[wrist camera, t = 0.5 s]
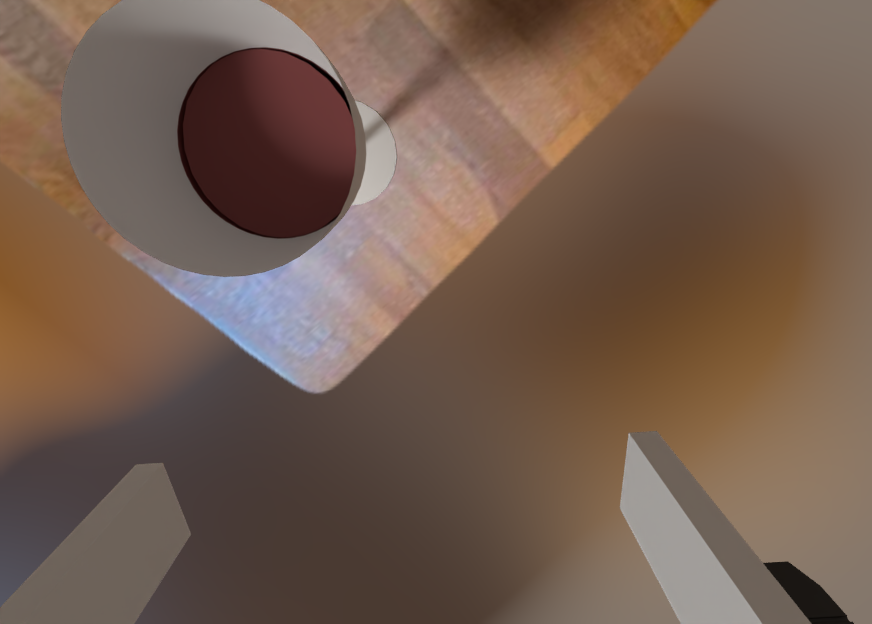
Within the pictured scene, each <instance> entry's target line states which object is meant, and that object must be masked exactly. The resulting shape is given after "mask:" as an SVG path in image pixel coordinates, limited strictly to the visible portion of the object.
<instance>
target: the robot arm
mask: <svg viewBox="0 0 872 624" xmlns="http://www.w3.org/2000/svg"><path fill="white" fill-rule="evenodd" d="M620 509H621V511H622V513H623V515H624V517H625V519H626V521H627V522H628V524H629V526H630V528H631V530H632V532H633V534H634V536H635V537H636V540H637V541H638V543H639V545H640V547H641V549H642V551H643V553H644V554H645V557H646V559H647V560H648V562H649V564H650V566H651V568H652V570H653V572H654V574H655V576H656V578H657V579H658V581H659V583H660V585H661V587H662V589H663V591H664V593H665V595H666V597H667V598H668V600H669V602H670V604H671V606H672V608H673V610H674V612H675V614H676V616H677V617H678V619H679V621H680V623H681V624H854V623H853V622H850V621H849V620H848V619H847V615H846V614H845V613H844V612H843V611H842V610H841V609H840V607H839V606H838V605H837V604H836V603H835V602H834V601H833V600H832V598H831V597H830V596H829V595H828V594H827V593H826V592H825V591H824V590H823V588H822V587H821V586H820V585H818V584H817V583H816V582H814V581H813V580H812V579H810V578H809V577H808V576H806V575H805V574H804V573H802V572H801V571H800V570H798V569H797V568H796V567H794V566H793V565H792V564H790V563H789V562H772V563H762V561H761V560H760V559H759V558H758V556H757V555H756V554H755V553H754V551H753V550H752V549H751V548H750V547H749V545H748V544H747V543H746V541H745V540H744V539H743V538H742V537H741V535H740V534H739V533H738V532H737V530H736V529H735V528H734V527H733V525H732V524H731V523H730V522H729V521H728V519H727V518H726V517H725V515H724V514H723V513H722V512H721V510H720V509H719V508H718V507H717V505H716V504H715V503H714V502H713V501H712V499H711V498H710V497H709V495H708V494H707V493H706V492H705V491H704V490H703V488H702V487H701V486H700V484H699V483H698V482H697V481H696V479H695V478H694V477H693V476H692V474H691V473H690V472H689V471H688V469H687V468H686V467H685V466H684V464H683V463H682V462H681V461H680V459H679V458H678V457H677V456H676V454H675V453H674V452H673V451H672V450H671V448H670V447H669V446H668V445H667V443H666V442H665V441H664V440H663V438H662V437H661V436H660V435H659V433H658V432H657V431H652V432H651V431H650V432H637V433H636V432H635V433H629V436H628V445H627V453H626V461H625V469H624V478H623V486H622V495H621V503H620ZM190 535H191V533H190V531H189V528H188V525H187V523H186V520H185V518H184V516H183V513H182V510H181V508H180V505H179V503H178V500H177V498H176V495H175V493H174V490H173V488H172V485H171V483H170V480H169V478H168V475H167V473H166V470H165V468H164V465H163V463H154V464H138V465H135V466H134V467H133V468H132V470H131V471H130V472H129V473H128V474H127V475H126V476H125V477H124V478H123V479H122V480H121V481H120V482H119V483H118V484H117V485H116V487H114V488H113V490H112V491H111V492H110V493H109V494H108V495H107V496H106V497H105V498H104V499H103V500H102V501H101V502H100V503H99V504H98V505H97V506H96V507H95V508H94V509H93V511H92V512H91V513H90V514H89V515H88V516H87V517H86V518H85V519H84V520H83V521H82V522H81V523H80V524H79V525H78V526H77V527H76V528H75V529H74V530H73V532H72V533H71V534H70V535H69V536H68V537H67V538H66V539H65V540H64V541H63V542H62V543H61V544H60V545H59V546H58V547H57V548H56V549H55V550H54V552H53V553H52V554H51V555H50V556H49V557H48V558H47V559H46V560H45V561H44V562H43V563H42V564H41V565H40V566H39V568H37V569H36V571H34V573H33V574H32V575H31V576H30V577H29V578H28V579H27V580H26V581H25V582H24V583H23V584H22V585H21V586H20V587H19V588H18V589H17V591H15V592H14V594H13V595H12V596H11V597H10V598H9V599H8V600H7V601H6V602H5V603H4V604H3V605H2V606H1V607H0V624H134V623H135V622H136V620H137V618H138V617H139V615H140V614H141V612H142V611H143V609H144V607H145V606H146V604H147V603H148V601H149V599H150V598H151V596H152V595H153V593H154V592H155V590H156V588H157V587H158V585H159V584H160V582H161V581H162V579H163V577H164V576H165V574H166V573H167V571H168V569H169V568H170V566H171V565H172V563H173V562H174V560H175V558H176V556H177V555H178V554H179V552H180V551H181V549H182V547H183V546H184V544H185V543H186V541H187V539H188V538H189V536H190Z"/></svg>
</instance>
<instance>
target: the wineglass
mask: <svg viewBox="0 0 872 624" xmlns="http://www.w3.org/2000/svg"><path fill="white" fill-rule="evenodd" d="M61 121H62V128H63V136H64V142H65V146H66V149H67V153H68V156H69V159H70V163H71V165H72V168H73V170H74V172H75V174H76V176H77V179H78V181H79V183H80V185H81V187H82V188H83V190H84V192H85V193H86V195H87V196H88V198H89V200H90V201H91V203H92V204H93V206H94V207H95V208H96V209H97V210H98V212H99V213H100V214H101V215H102V216H103V218H104V219H105V220H106V221H107V222H108V224H110V225H111V226H112V227H113V228H114V229H115V230H116V231H117V232H118V233H119V234H120V235H121V236H123V237H124V238H125V239H126V240H127V241H129V242H130V243H132V244H133V245H134V246H136V247H137V248H139V249H140V250H141V251H143V252H145V253H147V254H148V255H150V256H152V257H154V258H156V259H158V260H160V261H161V262H164V263H166V264H169V265H172V266H174V267H177V268H179V269H182V270H186V271H190V272H194V273H198V274H203V275H212V276H222V277H229V276H246V275H252V274H257V273H262V272H266V271H269V270H272V269H275V268H277V267H280V266H283V265H285V264H287V263H289V262H290V261H292V260H294V259H296V258H298V257H300V256H301V255H302V254H304V253H305V252H306V251H308V250H309V249H310V248H312V247H313V246H314V245H316V244H317V243H318V242H319V241H320V240H322V239H323V238H324V237H325V236H326V235H327V234H328V233H329V232H330V231H331V230H332V229H333V228H334V227H335V225H336V224H337V223H338V222H339V221H340V220H341V219H342V218H343V217H344V215H345V214H346V212H347V211H348V209H349V208H350V206H351V205H360V204H364V203H366V202H368V201H371V200H373V199H375V198H377V197H378V196H379V195H380V194H381V193H382V192H383V191H384V190H385V189H386V188H387V186H388V184H389V182H390V181H391V179H392V177H393V175H394V171H395V165H396V160H397V155H396V147H395V140H394V138H393V136H392V133H391V131H390V129H389V126H388V125H387V123H386V122H385V121H384V120H383V119H382V117H381V116H380V115H379V114H378V113H377V112H376V111H375V110H373V109H372V108H370V107H368V106H367V105H365V104H364V103H362V102H358V101H355V100H354V98H353V96H352V94H351V93H350V91H349V89H348V87H347V85H346V84H345V82H344V80H343V79H342V77H341V75H340V74H339V72H338V71H337V69H336V68H335V67H334V65H333V64H332V63H331V62H330V60H329V59H328V58H327V56H326V55H325V54H324V53H323V51H322V50H321V49H320V48H319V47H318V46H317V45H316V43H315V42H314V41H313V40H312V39H311V38H310V37H309V36H308V35H307V34H306V33H304V32H303V31H302V30H301V29H300V28H299V27H298V26H297V25H296V24H295V23H294V22H293V21H292V20H290V19H289V18H287V17H286V16H284V15H283V14H281V13H280V12H279V11H277V10H276V9H274V8H273V7H271V6H270V5H268V4H266V3H264V2H262V1H260V0H122V1H120V2H119V3H118V4H116V5H115V6H113V7H112V8H111V9H109V10H108V11H106V12H105V13H104V14H102V16H101V17H100V18H99V19H98V20H97V21H96V22H95V23H94V24H93V25H92V26H91V27H90V28H89V29H88V30H87V32H86V33H85V35H84V37H83V38H82V40H81V41H80V43H79V45H78V46H77V48H76V49H75V51H74V54H73V56H72V59H71V61H70V64H69V66H68V69H67V72H66V76H65V81H64V86H63V91H62V103H61Z"/></svg>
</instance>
